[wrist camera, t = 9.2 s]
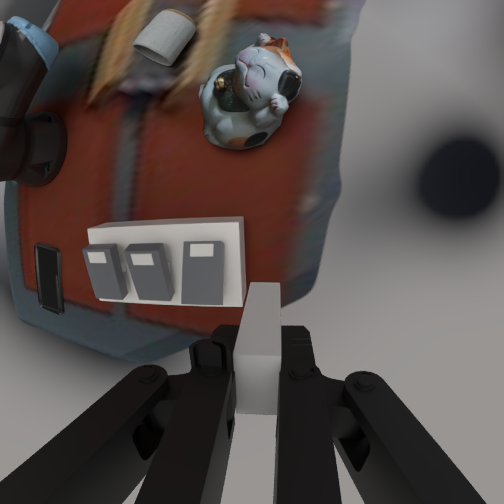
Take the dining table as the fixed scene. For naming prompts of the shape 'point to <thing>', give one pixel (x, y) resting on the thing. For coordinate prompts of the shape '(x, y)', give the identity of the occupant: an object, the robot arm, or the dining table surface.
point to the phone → (49, 277)
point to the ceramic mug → (165, 36)
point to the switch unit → (180, 250)
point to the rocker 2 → (150, 271)
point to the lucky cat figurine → (250, 95)
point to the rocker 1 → (105, 271)
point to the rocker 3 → (202, 273)
